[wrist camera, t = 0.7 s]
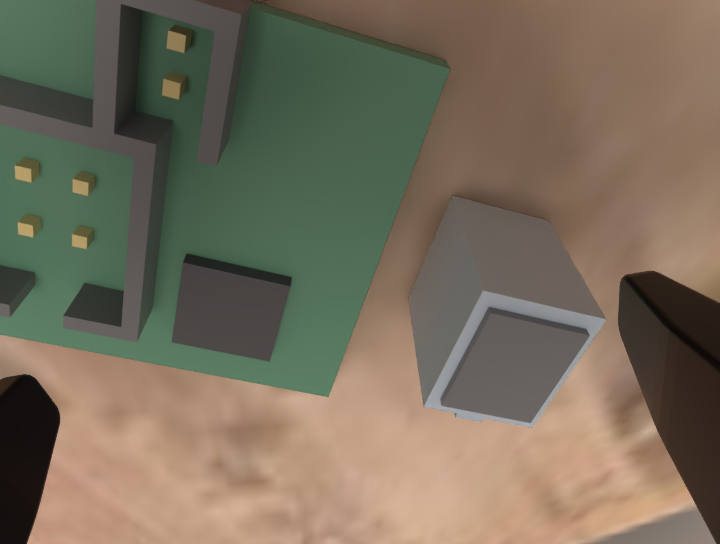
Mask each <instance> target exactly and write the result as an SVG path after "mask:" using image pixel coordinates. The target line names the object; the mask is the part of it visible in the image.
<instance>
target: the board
mask: <svg viewBox="0 0 720 544" xmlns="http://www.w3.org/2000/svg"><path fill="white" fill-rule="evenodd" d="M449 71H450V67H449V66H448V64H447V62H446V60H443V59H440V58H436V57H433V56H430V55H426V54H423V53H420V52H417V51H413V50H410V49H407V48H404V47H400V46H397V45H394V44H391V43H387V42H384V41H381V40H377V39H374V38H371V37H368V36H364V35H361V34H358V33H355V32H351V31H348V30H345V29H342V28H338V27H335V26H332V25H329V24H325V23H322V22H319V21H315V20H312V19H309V18H306V17H302V16H299V15H296V14H293V13H289V12H286V11H283V10H280V9H276V8H273V7H270V6H267V5H263V4H260V3H257V2H253V1H250V0H0V75H2V76H5V77H9V78H13V79H17V80H21V81H24V82H28V83H32V84H36V85H40V86H43V87H47V88H51V89H55V90H59V91H62V92H66V93H70V94H74V95H78V96H81V97H85V98H89V99H93V127H92V128H93V129H97V130H101V131H105V132H109V133H113V134H114V133H115V132H116V131H117V130H118V129H119V128H120V127H121V126H122V125H123V123H124V122H125V121H126V120H127V119H128V118H129V117H130V116H131V115H132V114H133V113H134V111H138V112H142V113H146V114H150V115H153V116H157V117H161V118H165V119H169V120H172V121H173V129H172V138H171V147H170V156H169V165H168V174H167V183H166V192H165V201H164V210H163V219H162V227H161V236H160V245H159V254H158V263H157V272H156V281H155V290H154V299H153V308H152V311H151V313H150V315H149V318H148V320H147V322H146V324H145V326H144V329H143V331H142V333H141V335H140V337H139V340H138V342H132V341H126V340H121V339H116V338H111V337H106V336H101V335H96V334H91V333H85V332H80V331H75V330H70V329H65V328H63V315H64V314H65V312H66V311H67V309H68V308H69V306H70V304H71V303H72V301H73V300H74V298H75V297H76V295H77V294H78V292H79V291H80V289H81V288H82V286H83V285H84V283H88V284H92V285H97V286H102V287H107V288H111V289H116V290H121V291H124V283H125V270H126V257H127V243H128V230H129V216H130V203H131V190H132V176H133V163H134V158H133V157H129V156H125V155H121V154H117V153H113V152H109V151H105V150H101V149H97V148H93V147H89V146H85V145H81V144H77V143H73V142H69V141H65V140H61V139H57V138H53V137H49V136H45V135H41V134H37V133H33V132H29V131H25V130H21V129H17V128H13V127H9V126H5V125H1V124H0V265H2V266H7V267H11V268H16V269H21V270H26V271H30V272H35V286H34V287H33V289H32V290H31V291H30V293H29V294H28V295H27V296H26V298H25V299H24V300H23V302H22V303H21V304H20V306H19V307H18V308H17V309H16V311H15V312H14V313H13V315H12V316H11V317H10V318H9V317H4V316H0V335H5V336H11V337H16V338H21V339H26V340H32V341H37V342H42V343H47V344H53V345H58V346H63V347H68V348H74V349H79V350H84V351H89V352H95V353H100V354H105V355H110V356H116V357H121V358H126V359H131V360H137V361H142V362H147V363H152V364H158V365H163V366H168V367H173V368H179V369H184V370H189V371H194V372H200V373H205V374H210V375H215V376H221V377H226V378H231V379H236V380H242V381H247V382H252V383H257V384H263V385H268V386H273V387H278V388H284V389H289V390H294V391H299V392H305V393H310V394H315V395H320V396H326V397H329V394H330V391H331V388H332V386H333V383H334V380H335V378H336V375H337V372H338V370H339V367H340V364H341V362H342V359H343V356H344V353H345V351H346V348H347V345H348V343H349V340H350V337H351V335H352V332H353V329H354V327H355V324H356V321H357V318H358V316H359V313H360V310H361V308H362V305H363V302H364V300H365V297H366V294H367V292H368V289H369V286H370V284H371V281H372V278H373V275H374V273H375V270H376V267H377V265H378V262H379V259H380V257H381V254H382V251H383V249H384V246H385V243H386V240H387V238H388V235H389V232H390V230H391V227H392V224H393V222H394V219H395V216H396V214H397V211H398V208H399V205H400V203H401V200H402V197H403V195H404V192H405V189H406V187H407V184H408V181H409V179H410V176H411V173H412V170H413V168H414V165H415V162H416V160H417V157H418V154H419V152H420V149H421V146H422V144H423V141H424V138H425V135H426V133H427V130H428V127H429V125H430V122H431V119H432V117H433V114H434V111H435V109H436V106H437V103H438V101H439V98H440V95H441V92H442V90H443V87H444V84H445V82H446V79H447V76H448V74H449ZM103 137H104V136H103ZM109 139H110V138H109ZM23 158H26V159H30V160H34V161H39V172H40V175H39V176H38V177H37V178H36V179H35V180H34V181H33V182H32V183H31V182H27V181H22V180H18V179H15V165H16V164H17V163H18V162H19V161H20V160H21V159H23ZM79 172H84V173H88V174H92V175H95V188H94V189H93V191H92V192H91V193H90V194H89V196H86V195H82V194H78V193H73V178H74V177H75V176H76V175H77V174H78V173H79ZM25 214H29V215H33V216H38V217H41V229H40V231H39V232H38V233H37V234H36V235H35V236H34V237H29V236H24V235H20V234H18V221H19V220H20V219H21V218H22V217H23V216H24V215H25ZM78 226H82V227H86V228H91V229H93V241H92V242H91V244H90V245H89V247H88V248H87V249H83V248H79V247H74V246H72V234H73V233H74V231H75V230H76V229H77V227H78Z"/></svg>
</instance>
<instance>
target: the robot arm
mask: <svg viewBox="0 0 720 544" xmlns="http://www.w3.org/2000/svg"><path fill="white" fill-rule="evenodd" d="M618 325H619V331H620V335H621V338H622V341H623V343H624V346H625V348H626V351H627V354H628V356H629V359H630V362H631V364H632V367H633V369H634V372H635V375H636V377H637V380H638V382H639V385H640V388H641V390H642V393H643V395H644V398H645V401H646V403H647V406H648V409H649V411H650V414H651V416H652V419H653V421H654V424H655V426H656V428H657V431H658V433H659V435H660V437H661V439H662V441H663V443H664V445H665V447H666V449H667V451H668V453H669V455H670V457H671V459H672V460H673V462H674V464H675V466H676V468H677V470H678V472H679V474H680V476H681V477H682V479H683V481H684V483H685V485H686V487H687V489H688V491H689V493H690V494H691V496H692V498H693V500H694V502H695V504H696V506H697V508H698V510H699V511H700V513H701V515H702V517H703V519H704V521H705V523H706V525H707V527H708V528H709V530H710V532H711V534H712V536H713V538H714V540H715V542H716V544H720V303H719V302H717V301H715V300H713V299H711V298H709V297H707V296H705V295H703V294H701V293H699V292H697V291H695V290H692V289H690V288H688V287H686V286H684V285H682V284H680V283H678V282H676V281H674V280H672V279H670V278H668V277H666V276H664V275H662V274H660V273H658V272H655V271H645V272H639V273H633V274H627V275H625V276H624V277H623V278H622V279H621V282H620V292H619V312H618ZM59 425H60V413H59V410H58V408H57V406H56V405H55V403H54V402H53V401H52V399H51V398H50V397H49V395H48V394H47V393H46V391H45V390H44V389H43V387H42V386H41V385H40V383H39V382H38V381H37V380H36V379H35V378H34V377H32V376H31V375H26V374H23V375H17V376H11V377H6V378H3V379H1V380H0V544H27V542H28V539H29V536H30V533H31V531H32V528H33V525H34V522H35V519H36V515H37V512H38V509H39V505H40V501H41V498H42V494H43V490H44V486H45V482H46V477H47V473H48V469H49V465H50V461H51V457H52V453H53V449H54V445H55V441H56V437H57V433H58V429H59Z"/></svg>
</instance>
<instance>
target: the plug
mask: <svg viewBox="0 0 720 544" xmlns="http://www.w3.org/2000/svg"><path fill="white" fill-rule="evenodd" d="M408 301H409V308H410V315H411V322H412V329H413V336H414V343H415V350H416V357H417V364H418V371H419V378H420V385H421V392H422V399H423V406H424V407H427V408H432V409H437V410H442V411H448V412H453V413H455V417H458V418H463V419H468V420H473V421H479V422H482V421H483V419H489V420H494V421H499V422H505V423H510V424H515V425H520V426H525V427H530V428H533V426H534V425H535V423H536V422H537V421H538V419H539V418H540V416H541V415H542V413H543V412H544V410H545V409H546V407H547V406H548V404H549V403H550V402H551V400H552V399H553V397H554V396H555V394H556V393H557V391H558V390H559V388H560V387H561V386H562V384H563V383H564V381H565V380H566V378H567V377H568V375H569V374H570V372H571V371H572V369H573V368H574V367H575V365H576V364H577V362H578V361H579V359H580V358H581V356H582V355H583V353H584V352H585V351H586V349H587V348H588V346H589V345H590V343H591V342H592V340H593V339H594V337H595V336H596V334H597V333H598V332H599V330H600V329H601V327H602V326H603V324H604V323H605V321H606V320H607V319H606V317H605V316H604V314H603V312H602V311H601V309H600V307H599V305H598V304H597V302H596V300H595V299H594V297H593V295H592V294H591V292H590V290H589V288H588V287H587V285H586V283H585V282H584V280H583V278H582V276H581V275H580V273H579V271H578V270H577V268H576V266H575V265H574V263H573V261H572V259H571V258H570V256H569V254H568V253H567V251H566V249H565V248H564V246H563V244H562V242H561V241H560V239H559V237H558V236H557V234H556V232H555V230H554V229H553V227H552V225H551V224H550V222H549V221H547V220H543V219H540V218H536V217H532V216H528V215H524V214H521V213H517V212H513V211H509V210H505V209H502V208H498V207H494V206H490V205H486V204H483V203H479V202H475V201H471V200H467V199H464V198H460V197H456V196H451V199H450V201H449V204H448V206H447V208H446V211H445V213H444V215H443V218H442V220H441V222H440V225H439V227H438V229H437V232H436V234H435V237H434V239H433V241H432V244H431V246H430V248H429V251H428V253H427V255H426V258H425V260H424V262H423V265H422V267H421V269H420V272H419V274H418V277H417V279H416V281H415V284H414V286H413V288H412V291H411V293H410V295H409V298H408Z"/></svg>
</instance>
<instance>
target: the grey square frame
mask: <svg viewBox="0 0 720 544" xmlns="http://www.w3.org/2000/svg"><path fill="white" fill-rule="evenodd" d="M0 124H1V125H5V126H9V127H13V128H17V129H21V130H25V131H29V132H33V133H37V134H41V135H45V136H49V137H53V138H57V139H61V140H65V141H69V142H73V143H77V144H81V145H85V146H89V147H93V148H97V149H101V150H105V151H109V152H113V153H117V154H121V155H125V156H129V157H133V158H134V163H133V176H132V190H131V203H130V216H129V230H128V243H127V257H126V270H125V283H124V291H121V290H116V289H111V288H107V287H102V286H97V285H92V284H88V283H84V285H83V286H82V288H81V289H80V291H79V292H78V294H77V295H76V297H75V298H74V300H73V301H72V303H71V304H70V306H69V308H68V309H67V311H66V312H65V314H64V315H63V328H65V329H70V330H75V331H80V332H85V333H91V334H96V335H101V336H106V337H111V338H116V339H121V340H126V341H132V342H138V340H139V337H140V335H141V333H142V331H143V329H144V326H145V324H146V322H147V320H148V318H149V315H150V313H151V311H152V308H153V299H154V290H155V281H156V272H157V263H158V254H159V245H160V236H161V227H162V219H163V210H164V201H165V192H166V183H167V174H168V165H169V156H170V147H171V138H172V129H173V121H172V120H169V119H165V118H161V117H157V116H153V115H150V114H146V113H142V112H138V111H134V113H133V114H132V115H131V116H130V117H129V118H128V119H127V120H126V121H125V122H124V123H123V125H122V126H121V127H120V128H119V129H118V130H117V131H116V132H115V133H114V134H113V133H109V132H105V131H101V130H97V129H93V128H92V127H93V99H89V98H85V97H81V96H78V95H74V94H70V93H66V92H62V91H59V90H55V89H51V88H47V87H43V86H40V85H36V84H32V83H28V82H24V81H21V80H17V79H13V78H9V77H5V76H2V75H0ZM103 136H104V137H103ZM109 138H110V139H109ZM39 175H40V172H39V161H34V160H30V159H26V158H23V159H21V160H20V161H19V162H18V163H17V164H16V165H15V179H18V180H22V181H27V182H31V183H32V182H33V181H34V180H35V179H36V178H37V177H38V176H39ZM94 188H95V175H92V174H88V173H84V172H79V173H78V174H77V175H76V176H75V177H74V178H73V193H78V194H82V195H86V196H89V194H90V193H91V192H92V191H93V189H94ZM40 229H41V217H38V216H33V215H29V214H25V215H24V216H23V217H22V218H21V219H20V220H19V221H18V234H20V235H24V236H29V237H34V236H35V235H36V234H37V233H38V232H39V231H40ZM92 241H93V229H91V228H86V227H82V226H78V227H77V229H76V230H75V231H74V233H73V234H72V246H74V247H79V248H83V249H87V248H88V247H89V245H90V244H91V242H92ZM34 286H35V272H30V271H26V270H21V269H16V268H11V267H7V266H2V265H0V316H4V317H9V318H10V317H11V316H12V315H13V313H14V312H15V311H16V309H17V308H18V307H19V306H20V304H21V303H22V302H23V300H24V299H25V298H26V296H27V295H28V294H29V293H30V291H31V290H32V289H33V287H34Z"/></svg>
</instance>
